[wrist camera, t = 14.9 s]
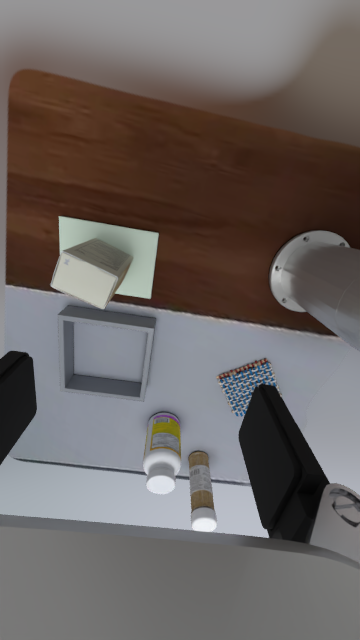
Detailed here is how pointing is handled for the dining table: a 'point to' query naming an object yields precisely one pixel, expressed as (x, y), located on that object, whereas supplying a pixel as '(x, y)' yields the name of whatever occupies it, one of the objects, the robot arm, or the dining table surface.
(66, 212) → the dining table surface
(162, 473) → the supplement bottle
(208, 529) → the sprinkles bottle
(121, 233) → the pad
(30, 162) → the dining table surface
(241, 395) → the woven mat
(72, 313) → the bin
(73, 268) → the skincare box
